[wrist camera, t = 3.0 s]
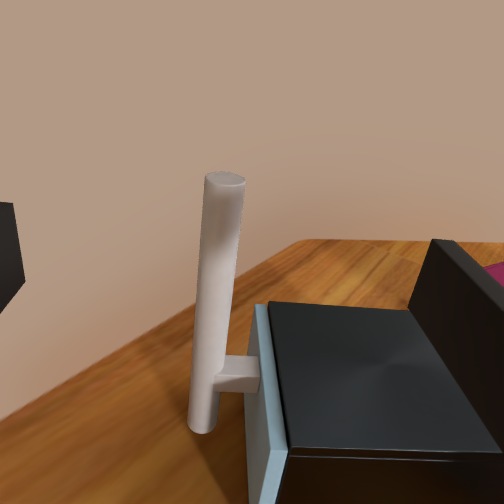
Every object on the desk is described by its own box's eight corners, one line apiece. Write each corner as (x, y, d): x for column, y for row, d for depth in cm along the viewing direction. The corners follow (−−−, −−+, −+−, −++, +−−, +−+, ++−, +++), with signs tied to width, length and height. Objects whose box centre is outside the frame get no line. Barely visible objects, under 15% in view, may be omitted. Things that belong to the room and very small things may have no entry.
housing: (266, 543, 27) (291, 446, 23) (254, 384, 39) (268, 300, 34) (490, 544, 29) (554, 454, 24) (412, 392, 41) (446, 312, 36)
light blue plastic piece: (176, 539, 26) (197, 231, 16) (191, 378, 38) (209, 143, 28) (475, 541, 28) (660, 271, 18) (402, 388, 40) (488, 173, 30)
